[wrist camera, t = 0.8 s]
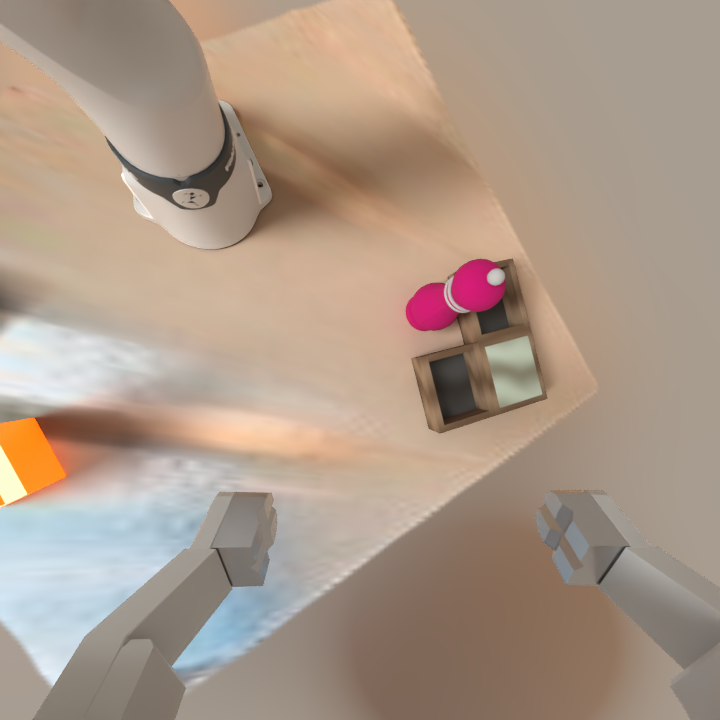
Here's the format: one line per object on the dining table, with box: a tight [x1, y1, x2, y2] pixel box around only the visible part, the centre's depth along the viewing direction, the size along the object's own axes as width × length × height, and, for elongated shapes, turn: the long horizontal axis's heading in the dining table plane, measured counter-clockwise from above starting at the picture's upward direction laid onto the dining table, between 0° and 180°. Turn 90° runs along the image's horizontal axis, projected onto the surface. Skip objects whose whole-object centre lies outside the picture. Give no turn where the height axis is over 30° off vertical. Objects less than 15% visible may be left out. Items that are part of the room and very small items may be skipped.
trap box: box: [412, 259, 547, 433], centre depth 50 cm, size 24×20×4 cm
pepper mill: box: [406, 259, 506, 331], centre depth 41 cm, size 7×7×20 cm
